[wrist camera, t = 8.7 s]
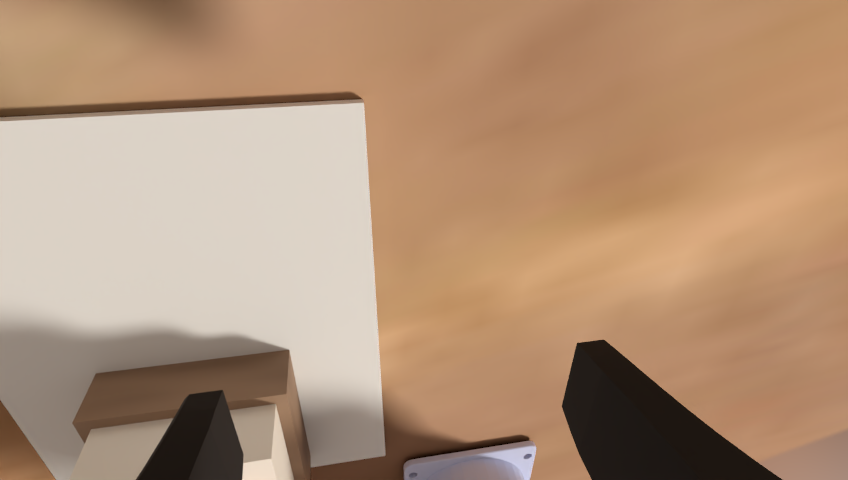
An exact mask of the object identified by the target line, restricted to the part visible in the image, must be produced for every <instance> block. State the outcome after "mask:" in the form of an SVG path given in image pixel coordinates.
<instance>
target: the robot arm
mask: <svg viewBox="0 0 848 480" xmlns="http://www.w3.org/2000/svg"><path fill="white" fill-rule="evenodd" d="M562 408H563V411H564V414H565V417H566V420H567V422H568V425H569V428H570V431H571V434H572V436H573V439H574V442H575V444H576V447H577V449H578V452H579V454H580V456H581V458H582V460H583V463H584V465H585V467H586V469H587V471H588V473H589V475H590V477H591V479H592V480H782V479H781V478H779V477H777V476H776V475H775V474H773V473H772V472H770V471H769V470H768V469H766V468H765V467H763V466H762V465H760V464H759V463H758V462H756V461H755V460H753V459H752V458H751V457H749V456H748V455H747V454H745V453H744V452H743V451H741V450H740V449H738V448H737V447H736V446H734V445H733V444H732V443H730V442H729V441H728V440H726V439H725V438H724V437H722V436H721V435H720V434H718V433H717V432H716V431H714V430H713V429H712V428H711V427H709V426H708V425H707V424H705V423H704V422H703V421H702V420H700V419H699V418H698V417H696V416H695V415H694V414H693V413H691V412H690V411H689V410H688V409H686V408H685V407H684V406H683V405H682V404H680V403H679V402H678V401H677V400H675V399H674V398H673V397H672V396H671V395H669V394H668V393H667V392H666V391H664V390H663V389H662V388H661V387H660V386H658V385H657V384H656V383H655V382H654V381H653V380H651V379H650V378H649V377H648V376H647V375H645V374H644V373H643V372H642V371H641V370H639V369H638V368H637V367H636V366H635V365H634V364H632V363H631V362H630V361H629V360H628V359H627V358H625V357H624V356H623V355H622V354H621V353H619V352H618V351H617V350H616V349H615V348H613V347H612V346H611V345H610V344H609V343H607V342H606V341H605V340H598V341H590V342H582V343H577V346H576V350H575V354H574V358H573V362H572V366H571V371H570V375H569V379H568V383H567V387H566V391H565V396H564V400H563V404H562ZM535 453H536V446H535V444H534V442H532V441H523V442H517V443H511V444H505V445H499V446H492V447H486V448H480V449H474V450H467V451H461V452H455V453H449V454H442V455H436V456H430V457H424V458H417V459H411V460H408V461H407V462H406V463H405V464H404V480H530V476H531V472H532V467H533V462H534V458H535ZM243 457H244V454H243V451H242V448H241V445H240V442H239V439H238V435H237V432H236V429H235V426H234V423H233V420H232V417H231V414H230V411H229V408H228V404H227V401H226V398H225V395H224V392H223V390H218V391H210V392H203V393H195V394H189V395H188V396H187V397H186V398H185V399H184V401H183V403H182V404H181V406H180V408H179V410H178V411H177V413H176V415H175V416H174V418H173V420H172V422H171V423H170V425H169V427H168V428H167V430H166V432H165V433H164V435H163V437H162V438H161V440H160V442H159V443H158V445H157V447H156V448H155V450H154V452H153V453H152V455H151V456H150V458H149V460H148V461H147V463H146V465H145V466H144V468H143V469H142V471H141V472H140V474H139V476H138V477H137V479H136V480H242V475H243Z"/></svg>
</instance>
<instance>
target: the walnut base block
mask: <svg viewBox="0 0 848 480" xmlns="http://www.w3.org/2000/svg"><path fill="white" fill-rule="evenodd" d="M218 390H223V392H224V395H225V398H226V401H227V404H228V408H229V410H235V409H242V408H249V407H257V406H264V405H271V404H276V407H277V411H278V415H279V419H280V423H281V427H282V432H283V436H284V440H285V444H286V448H287V452H288V456H289V461H290V465H291V469H292V473H293V477H294V480H310V471H311V455H310V450H309V446H308V441H307V436H306V431H305V426H304V421H303V416H302V411H301V406H300V401H299V396H298V391H297V386H296V381H295V376H294V371H293V366H292V361H291V356H290V351H289V350H282V351H274V352H266V353H258V354H250V355H242V356H233V357H225V358H217V359H209V360H201V361H193V362H184V363H176V364H168V365H160V366H152V367H144V368H135V369H127V370H119V371H111V372H103V373H96V374H95V376H94V378H93V380H92V382H91V385H90V387H89V389H88V391H87V393H86V395H85V397H84V399H83V401H82V403H81V406H80V408H79V410H78V412H77V414H76V416H75V418H74V420H73V422H72V424H73V425H74V427H75V429H76V430H77V432H78V434H79V435H80V437H81V439H82V440H83V442H84V444H85V442H86V440H87V437H88V435H89V433H90V430H91V429H97V428H104V427H111V426H119V425H126V424H133V423H140V422H148V421H155V420H162V419H169V418H174V416H175V415H176V413H177V411H178V410H179V408H180V406H181V404H182V403H183V401H184V399H185V398H186V397H187V396H188V395H189V394H195V393H203V392H210V391H218Z"/></svg>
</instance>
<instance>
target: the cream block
mask: <svg viewBox="0 0 848 480" xmlns="http://www.w3.org/2000/svg"><path fill="white" fill-rule="evenodd" d="M229 411H230V414H231V417H232V420H233V423H234V426H235V429H236V432H237V435H238V439H239V442H240V445H241V448H242V451H243V454H244V457H243V475H242V480H294V477H293V473H292V469H291V465H290V461H289V456H288V452H287V448H286V444H285V440H284V436H283V432H282V427H281V423H280V419H279V415H278V411H277V407H276V404H271V405H264V406H257V407H249V408H242V409H235V410H229ZM172 420H173V418H169V419H162V420H155V421H148V422H140V423H133V424H126V425H119V426H111V427H104V428H97V429H91V430H90V433H89V435H88V437H87V440H86V442H85V444H84V447H83V449H82V451H81V453H80V456H79V458H78V460H77V463H76V465H75V467H74V469H73V472H72V474H71V476H70V479H69V480H136V479H137V477H138V476H139V474H140V472H141V471H142V469H143V468H144V466H145V465H146V463H147V461H148V460H149V458H150V456H151V455H152V453H153V452H154V450H155V448H156V447H157V445H158V443H159V442H160V440H161V438H162V437H163V435H164V433H165V432H166V430H167V428H168V427H169V425H170V423H171V422H172Z"/></svg>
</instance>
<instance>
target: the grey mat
mask: <svg viewBox="0 0 848 480" xmlns="http://www.w3.org/2000/svg"><path fill="white" fill-rule="evenodd" d="M282 350H289V351H290V356H291V361H292V366H293V371H294V376H295V381H296V386H297V391H298V396H299V401H300V406H301V411H302V416H303V421H304V426H305V431H306V436H307V441H308V446H309V450H310V455H311V467H318V466H324V465H330V464H337V463H343V462H349V461H356V460H362V459H368V458H375V457H381V456H386V453H385V436H384V420H383V404H382V388H381V372H380V356H379V339H378V323H377V307H376V291H375V275H374V258H373V242H372V226H371V210H370V194H369V178H368V161H367V145H366V129H365V113H364V101H363V99H356V100H336V101H316V102H296V103H276V104H256V105H236V106H216V107H196V108H176V109H156V110H136V111H116V112H96V113H76V114H56V115H36V116H16V117H0V400H1V402H2V403H3V405H4V406H5V407H6V409H7V410H8V412H9V413H10V415H11V416H12V417H13V419H14V420H15V422H16V423H17V425H18V426H19V427H20V429H21V430H22V432H23V433H24V435H25V436H26V437H27V439H28V440H29V442H30V443H31V445H32V446H33V447H34V449H35V450H36V452H37V453H38V455H39V456H40V457H41V459H42V460H43V462H44V463H45V465H46V466H47V467H48V469H49V470H50V472H51V473H52V475H53V476H54V477H55V479H56V480H69V479H70V476H71V474H72V472H73V469H74V467H75V465H76V463H77V460H78V458H79V456H80V453H81V451H82V449H83V447H84V442H83V440H82V439H81V437H80V435H79V434H78V432H77V430H76V429H75V427H74V425H73V424H72V422H73V420H74V418H75V416H76V414H77V412H78V410H79V408H80V406H81V403H82V401H83V399H84V397H85V395H86V393H87V391H88V389H89V387H90V385H91V382H92V380H93V378H94V376H95V374H96V373H103V372H111V371H119V370H127V369H135V368H144V367H152V366H160V365H168V364H176V363H184V362H193V361H201V360H209V359H217V358H225V357H233V356H242V355H250V354H258V353H266V352H274V351H282Z"/></svg>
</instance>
